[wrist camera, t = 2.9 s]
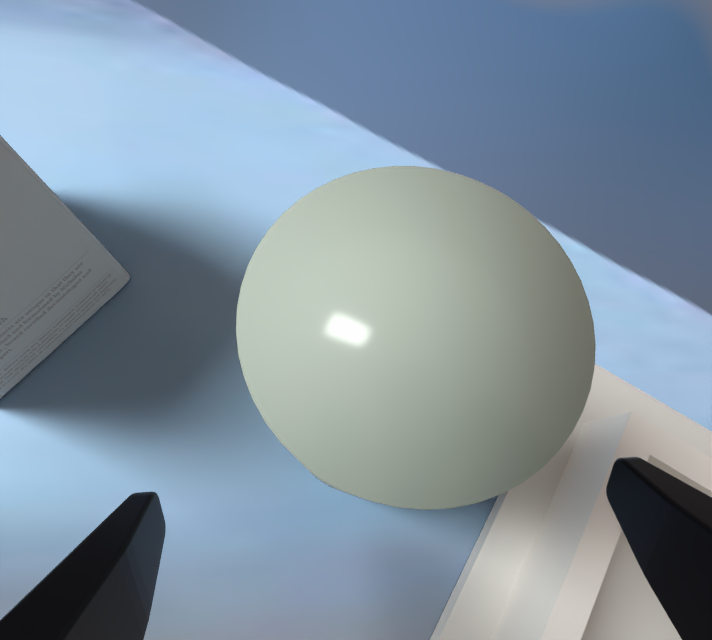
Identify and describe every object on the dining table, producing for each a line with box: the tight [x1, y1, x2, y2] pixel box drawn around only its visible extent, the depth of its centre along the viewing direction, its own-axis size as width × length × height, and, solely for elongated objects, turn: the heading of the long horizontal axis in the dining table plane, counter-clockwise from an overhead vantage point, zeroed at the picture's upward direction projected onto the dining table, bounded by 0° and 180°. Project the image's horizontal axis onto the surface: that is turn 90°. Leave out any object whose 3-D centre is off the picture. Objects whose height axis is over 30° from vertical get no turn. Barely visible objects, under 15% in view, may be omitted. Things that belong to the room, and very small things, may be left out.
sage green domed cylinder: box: [236, 166, 595, 510], centre depth 12 cm, size 5×5×13 cm
